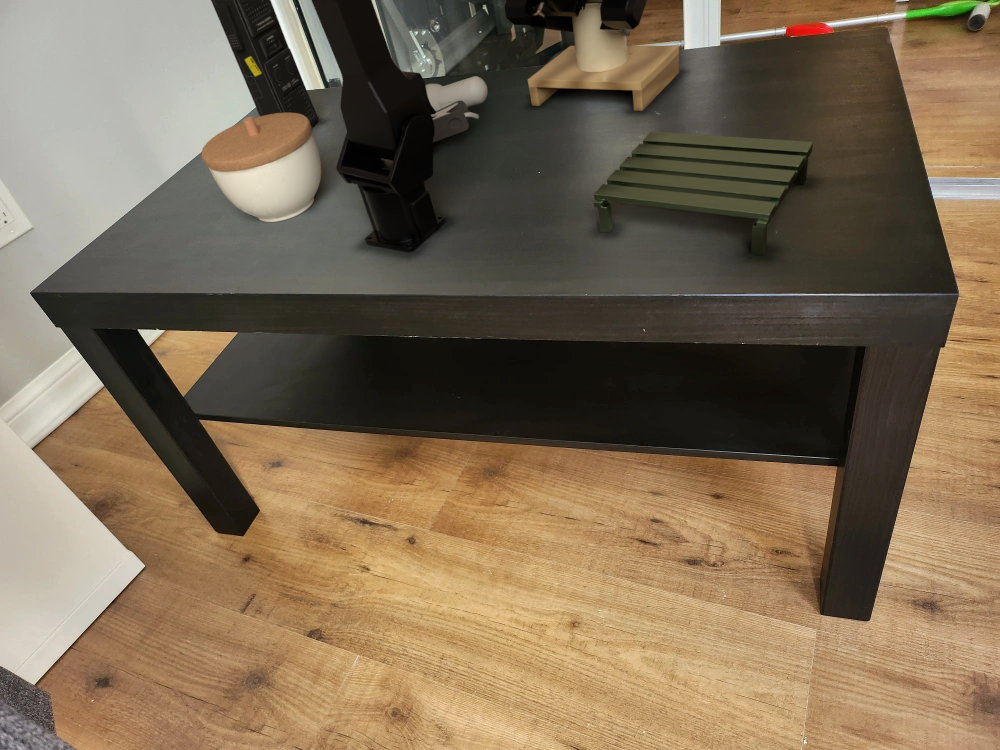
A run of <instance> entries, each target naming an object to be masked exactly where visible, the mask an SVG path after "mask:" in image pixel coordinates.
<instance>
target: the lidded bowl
mask: <svg viewBox="0 0 1000 750" xmlns="http://www.w3.org/2000/svg"><path fill="white" fill-rule="evenodd" d="M312 127H313V126H312ZM312 127H311V124H310V122H309V120H308V118H307V117H305V116H304V115H302V114H298V113H275V114H269V115H264V116H257V117H254V116H247V117H245V118H243V119H242V121H241V122H238V123H237V124H235V125H232V126H230V127H228V128H226V129H224V130H222V131H220V132H219V133H217V134H216V135H215V136H213V137H212V138H211V139H210V140H208V141H207V142H206V143H205V144H204V146H203V147H202V149H201V153H200V155H201V158H202V161H203V162H204V164H205V165H206V167H207V168H208V170H209V171H210V173H211V176H212V177H213V179H214V181H215V183H216V185H217V186H218V187H219V189H220V191H221V192H222V193H223V195H224V196H225V197H226V198H227V200H228V201H229V202H230V203H231V204H232V205H233V206H234V207H236V208H237V209H238V210H240V211H242V212H243V213H246V214H248V215H249V216H253V217H255V218H257V219H258V220H259V221H260V222H261V221H262V222H264V223H277V222H282V221H286V220H289V219H292V218H295V217H297V216H299V215H301V214H302V213H304V212H306V211H307V210H308V209H309V208H310V207H311V206H313V203H314V202H315V195H316V194H317V192H318V189H319V187H320V184H321V180H322V162H321V155H320V152H319V148H318V144H317V142H316V139H315V136H314V133H313V128H312Z"/></svg>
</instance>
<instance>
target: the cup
mask: <svg viewBox="0 0 1000 750" xmlns="http://www.w3.org/2000/svg"><path fill="white" fill-rule="evenodd" d="M601 4H602V3H586V6H585V9H584V10H583V11H580V13H579V16H571V17H572V25H573V33H572V34H573V41H574V46H575V51H576V60H577V67H578V69H579V70H581V71H584V72H603V71H608V70H612V69H615V68H617V67H620V66H622V65H623V64H625V63H626V62H627V61H628V49H627V46H628V36H623V35H619V34H615V33H611V32H607V31H604V30H600V26H601V23H602V21H601V14H600V7H601Z"/></svg>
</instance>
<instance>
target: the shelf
mask: <svg viewBox="0 0 1000 750" xmlns="http://www.w3.org/2000/svg"><path fill="white" fill-rule="evenodd" d="M627 49H628V61H627V62H626V63H625V64H623V65H622V66H620V67H617V68H615V69H612V70H608V71H603V72H584V71H581V70H579V69H578V67H577V60H576V51H575V45H569V46H568V47H567V48H565V49H563V50H562V51H561V53H559V54H558V55H557V56H555V57H554V58H552V60H550V61H549V62H548V63H546V64H545V65H544V66H543V67H541V69H539V70H537V72H535V73H534V74H533V75H531V76H530V77H529V78H528V79H527V84H528V90H529V97H530V103H531V106H533V107H540V106H541V105H542V104H544V103H545V102H546V101H547V100H549V98H551V97H552V96H553V95H554V94H555V93H556V92H558V91H559V90H560V89H573V90H574V89H577V90H578V89H579V90H581V89H582V90H608V91H609V90H610V91H632V104H633V111H635V112H637V111H638V112H643V111H644V110H645V109H646V108H647V107H648V106H649V105H650V104H651V103H652V101H654V100H655V99H656V98H657V96H658V95H660V94H661V93H662V91H663V90H664V89H666V87H667V86H668V85H669V84H670V83H671V82H672V81H673V80H674V79H675V78H676V77H677V76H678V75H679V74H680V45H627Z"/></svg>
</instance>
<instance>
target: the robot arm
mask: <svg viewBox="0 0 1000 750" xmlns="http://www.w3.org/2000/svg"><path fill="white" fill-rule="evenodd" d="M647 1H648V0H505V2H504V5H503V9H504V10H503V11H504V15H505V19H507V20H508V21H509V22H510V23H512V24H513V25H514V26H529V27H531V28H537V29H546V30H551V31H558V32H565V33H571V34H573V25H572V17H571V16H579V13H580V11H583V10H584V9H585V6H586V3H602V4H601V7H600V14H601V21H602V23H601V26H600V30H604V31H607V32H611V33H615V34H619V35H623V36H627V37H630V35H631V32H632V30H634V29H636V28H637V27H638V26H640V23H641V20H642V17H643V14H644V10H645V8H646V5H647ZM311 3H312V5H313V8H314V10H315V13H316V16H317V17H318V20H319V23H320V25H321V28H322V30H323V33H324V34H325V37H326V40H327V42H328V44H329V45H328V46H329V47H330V49H331V52H332V54H333V57H334V59H335V63H336V64H337V67H338V69H339V72H340V74H341V75H340V76H341V78H342V79H341V80H342V82H341V83H342V84H341V93H340V94H341V95H340V111H341V115H342V118H343V122H344V126H345V128H346V134H345V136H344V140H343V144H342V147H341V150H340V153H339V157H338V160H337V163H336V167H335V169H336V172H337V173H338V174H339V175H340V177H341V178H342V180H343V181H344V182H345V183H346V184H350V185H351V184H353V185H357V188H358V191H359V193H360V196H361V198H362V201H363V205H364V207H365V211H366V213H367V217H368V219H369V222H370V224H371V228H372V230H373V231H371V233H370V234H368V235H367V236H366V237H365V238H364V241H365V243H366V244H367V245H371V246H377V247H382V248H386V249H393V250H398V251H403V252H406V253H407V252H408V253H409V252H412V251H414V250H416V249H417V248H418V247H419V246H420V245H421V244H422V243H423V242H424V241H425V240H427V239H428V238H429V237H430V236H431V235H432V234H433V233H434V232H435V231H437V229H439V228H440V227H441V226H442V225H443V224H444V223H445V222H446V217H445V215H441V214H436V211H435V208H434V205H433V201H432V198H431V193H430V191H429V190H428V189H427V187H426V183H425V182H426V181H428V180H429V179H431V178H432V177H433V176H434V142H433V137H434V135H435V127H434V123H433V118H432V116H431V114H436V111H435V109H434V108H433V107H432V106H431V104H430V101H429V99H428V95H427V91H426V86H425V85H426V81H425V79H424V78H423V76H422V74H421V73H420V72H414V71H404V70H402V69H401V68H400V67H399V66H398V65H397V64H396V63H395V61H394V59H393V57H392V54H391V51H390V49H389V45H388V43H387V39H386V37H385V34H384V31H383V29H382V25H381V23H380V20H379V18H378V14H377V12H376V9H375V5H374V3H373V0H311Z"/></svg>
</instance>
